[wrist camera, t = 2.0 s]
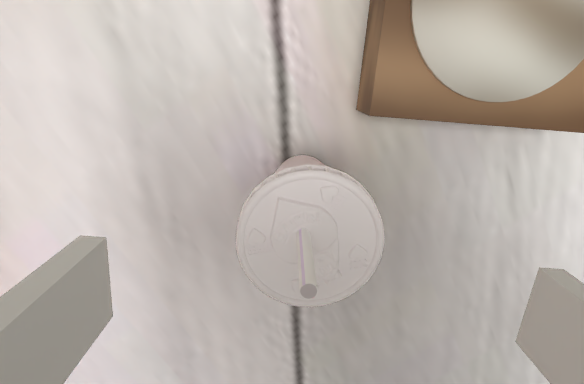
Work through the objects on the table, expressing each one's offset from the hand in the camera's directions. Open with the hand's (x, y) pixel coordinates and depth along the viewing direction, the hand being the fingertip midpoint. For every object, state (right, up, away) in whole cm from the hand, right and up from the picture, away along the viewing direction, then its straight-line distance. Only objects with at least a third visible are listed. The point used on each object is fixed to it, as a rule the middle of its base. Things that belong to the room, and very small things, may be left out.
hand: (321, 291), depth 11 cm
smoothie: (0, +4, +13) cm, 14 cm away
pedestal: (+10, +14, +10) cm, 20 cm away
